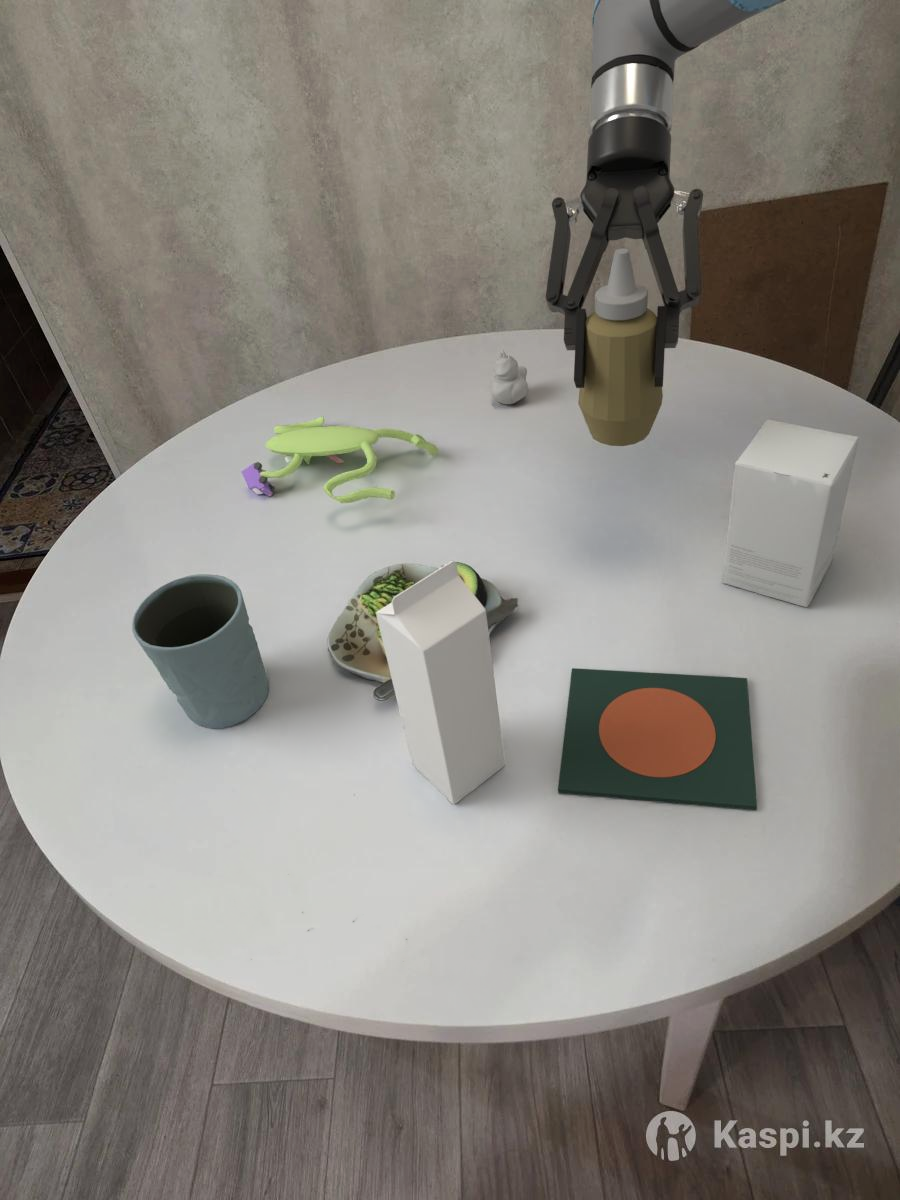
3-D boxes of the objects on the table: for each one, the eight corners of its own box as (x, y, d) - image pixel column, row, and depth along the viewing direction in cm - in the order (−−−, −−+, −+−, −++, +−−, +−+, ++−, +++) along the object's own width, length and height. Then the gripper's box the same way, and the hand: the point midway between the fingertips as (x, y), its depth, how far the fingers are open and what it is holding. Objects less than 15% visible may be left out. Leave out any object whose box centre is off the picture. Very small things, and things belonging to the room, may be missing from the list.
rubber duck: (482, 404, 123) (476, 352, 118) (511, 384, 126) (507, 332, 121) (511, 414, 120) (507, 361, 115) (540, 393, 123) (538, 341, 118)
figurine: (378, 540, 102) (370, 502, 99) (216, 490, 115) (203, 454, 111) (458, 459, 113) (454, 421, 110) (302, 421, 125) (293, 386, 122)
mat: (746, 682, 80) (747, 676, 79) (756, 810, 70) (757, 805, 69) (572, 672, 83) (572, 667, 83) (558, 793, 73) (557, 788, 73)
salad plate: (458, 732, 79) (452, 699, 76) (294, 687, 86) (283, 655, 83) (530, 596, 92) (527, 563, 89) (382, 566, 99) (375, 534, 96)
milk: (412, 765, 77) (364, 580, 63) (463, 727, 80) (429, 540, 65) (455, 806, 74) (415, 619, 59) (507, 766, 76) (482, 576, 61)
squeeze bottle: (670, 416, 87) (680, 235, 75) (648, 459, 82) (655, 272, 70) (593, 407, 90) (591, 231, 79) (567, 448, 85) (561, 267, 73)
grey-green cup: (289, 705, 84) (257, 616, 76) (191, 753, 81) (146, 666, 73) (254, 645, 91) (221, 558, 83) (162, 687, 88) (119, 601, 80)
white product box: (835, 558, 91) (864, 435, 81) (807, 610, 86) (834, 485, 76) (750, 535, 95) (767, 415, 85) (718, 583, 90) (733, 462, 80)
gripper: (735, 150, 81) (726, 393, 80) (530, 165, 85) (519, 395, 85) (744, 101, 74) (733, 368, 73) (519, 120, 78) (506, 372, 77)
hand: (618, 382), depth 79 cm, fingers closed on squeeze bottle, 6 cm apart
